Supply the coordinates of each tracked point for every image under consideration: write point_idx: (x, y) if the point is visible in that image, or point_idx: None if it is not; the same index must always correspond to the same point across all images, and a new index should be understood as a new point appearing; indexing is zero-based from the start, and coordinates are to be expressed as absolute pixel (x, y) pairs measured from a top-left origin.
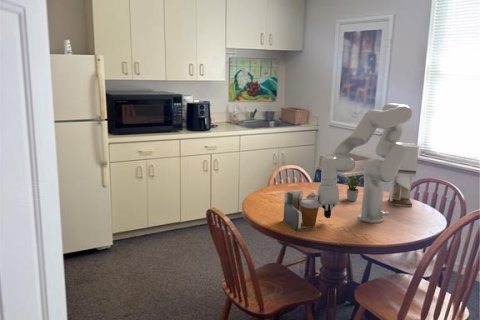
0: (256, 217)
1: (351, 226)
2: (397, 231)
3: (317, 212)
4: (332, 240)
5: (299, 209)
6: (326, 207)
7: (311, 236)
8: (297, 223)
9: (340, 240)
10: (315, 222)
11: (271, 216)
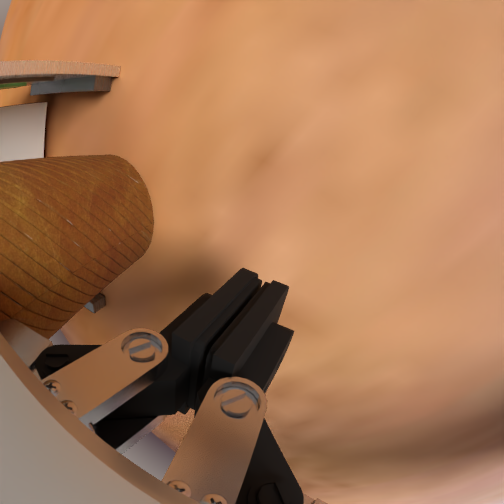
0: (8, 26)
1: (400, 425)
2: (477, 500)
3: (52, 334)
4: None
5: (18, 77)
6: (116, 427)
7: (82, 341)
8: None
9: (177, 439)
10: (122, 271)
11: (39, 7)
